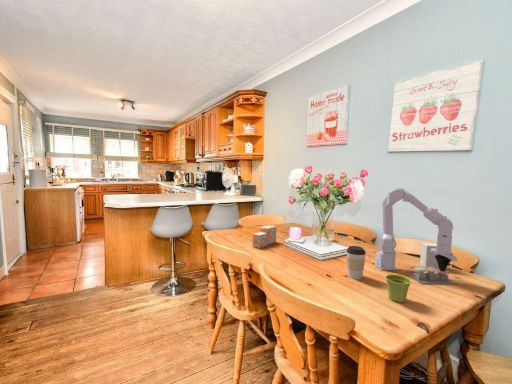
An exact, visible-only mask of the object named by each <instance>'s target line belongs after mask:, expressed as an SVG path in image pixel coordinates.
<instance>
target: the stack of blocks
mask: <svg viewBox="0 0 512 384" xmlns="http://www.w3.org/2000/svg"><path fill="white" fill-rule="evenodd" d="M274 242H275V243H276V242H277V226H276V225H271V224H269V225H264V226H261V227H260V229H259V232H255V233H253V234H252V247H253V248H256V247H257V249H263V248H265V247H266V246H269V244H270V245H272V244H275V243H274ZM271 243H272V244H271ZM264 246H265V247H264Z"/></svg>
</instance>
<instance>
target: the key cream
mask: <svg viewBox="0 0 512 384" xmlns="http://www.w3.org/2000/svg"><path fill="white" fill-rule="evenodd" d="M424 268H425V269H427V273H428V274H429V275H435V273H438V269H436V268H434V267H424Z"/></svg>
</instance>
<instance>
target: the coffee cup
mask: <svg viewBox="0 0 512 384" xmlns="http://www.w3.org/2000/svg"><path fill="white" fill-rule="evenodd" d="M366 254H367V252H366V250H365V249H364V248H363V247H361V246H358V245H351V246H350V245H349V246H348V248H347V249H346V264H347V265H346V267H347V277H348V278H349V279H353V280H362V279H363V275H364V268H365V262H366Z"/></svg>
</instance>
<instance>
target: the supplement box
mask: <svg viewBox="0 0 512 384" xmlns="http://www.w3.org/2000/svg"><path fill="white" fill-rule="evenodd" d="M420 243H421V244H420V257H419V258H420V260H419V264H420V265H421V267H423V268H425V267H434V268H436V269H439V266H438V263H437V260H436V258H435V255H438V254H436V253H434V252H431V248H436V249H437V243H434V242H420Z"/></svg>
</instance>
